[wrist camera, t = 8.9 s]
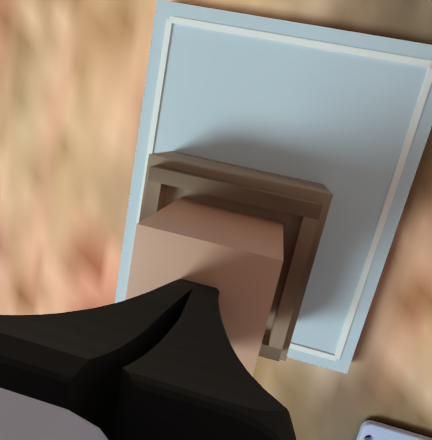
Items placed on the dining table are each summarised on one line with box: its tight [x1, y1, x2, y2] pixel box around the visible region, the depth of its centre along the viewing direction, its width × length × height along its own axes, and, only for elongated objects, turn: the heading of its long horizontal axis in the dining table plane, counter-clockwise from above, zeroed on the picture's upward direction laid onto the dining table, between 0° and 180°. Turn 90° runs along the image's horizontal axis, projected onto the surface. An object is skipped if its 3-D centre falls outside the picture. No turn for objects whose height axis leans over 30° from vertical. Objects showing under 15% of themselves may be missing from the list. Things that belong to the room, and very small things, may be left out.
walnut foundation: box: [139, 151, 333, 361], centre depth 18 cm, size 8×8×4 cm
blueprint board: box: [115, 0, 432, 374], centre depth 19 cm, size 17×14×1 cm
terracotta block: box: [125, 198, 284, 377], centre depth 14 cm, size 5×5×5 cm
